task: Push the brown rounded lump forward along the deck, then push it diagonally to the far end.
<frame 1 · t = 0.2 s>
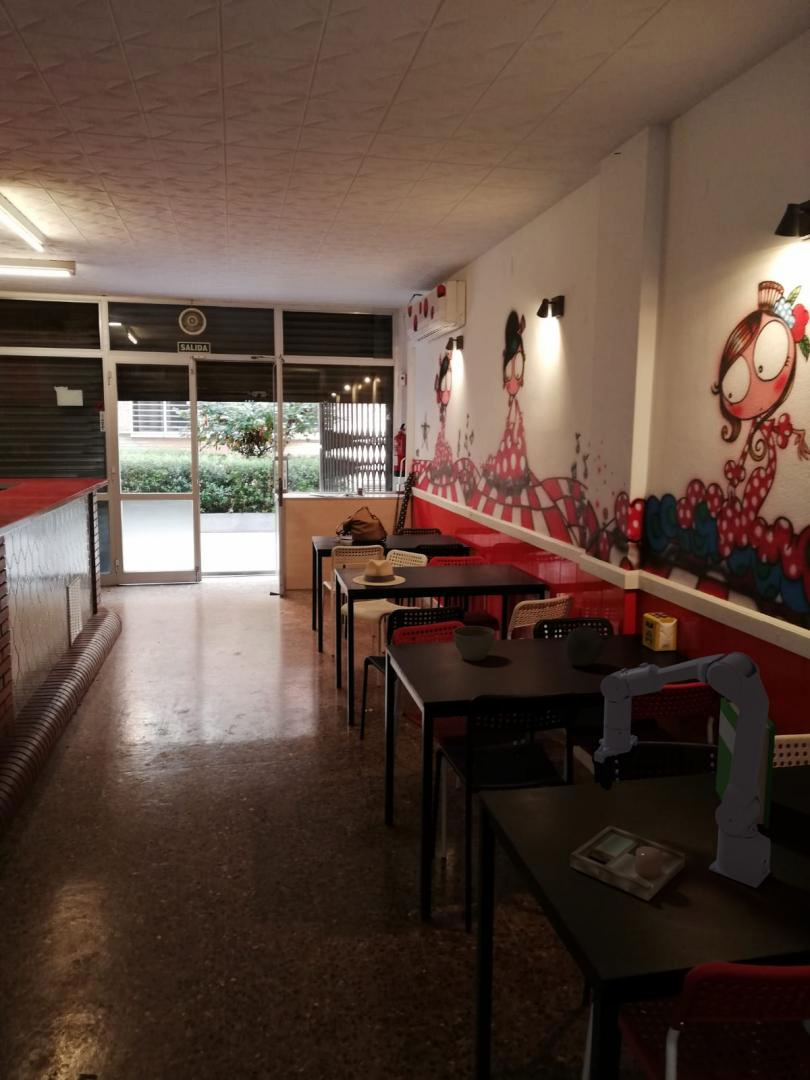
hand: (615, 783, 174), 10 cm above the table, tool pointing down, fingers open, 7 cm apart
cantaloupe: (583, 666, 294), on the table
hardback book: (740, 809, 183), on the table
deck: (627, 866, 158), on the table
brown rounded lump: (648, 872, 153), point 2 cm above the table, touching deck
planter bowl: (473, 658, 305), on the table
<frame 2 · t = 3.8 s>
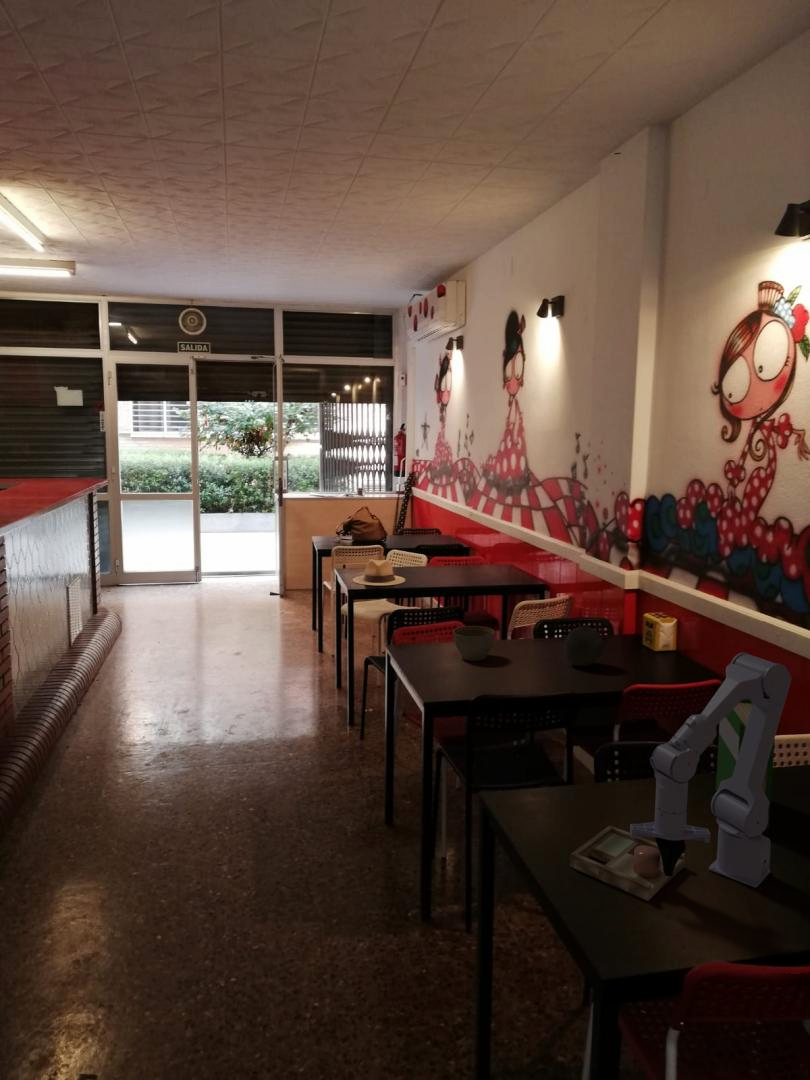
hand: (667, 873, 150), 3 cm above the table, tool pointing down, fingers closed
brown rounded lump: (646, 871, 153), point 2 cm above the table, touching gripper
everything else where it was.
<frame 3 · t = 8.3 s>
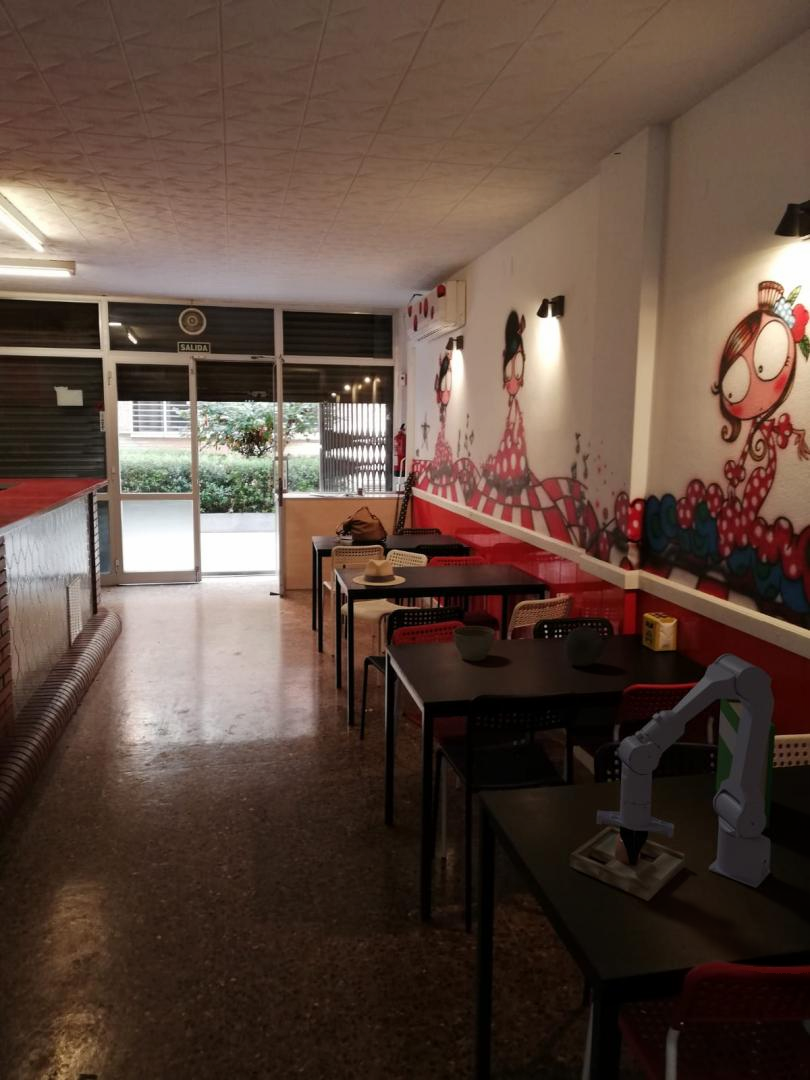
hand: (633, 862, 154), 3 cm above the table, tool pointing down, fingers closed
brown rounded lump: (627, 857, 158), point 2 cm above the table, touching gripper
everything else where it was.
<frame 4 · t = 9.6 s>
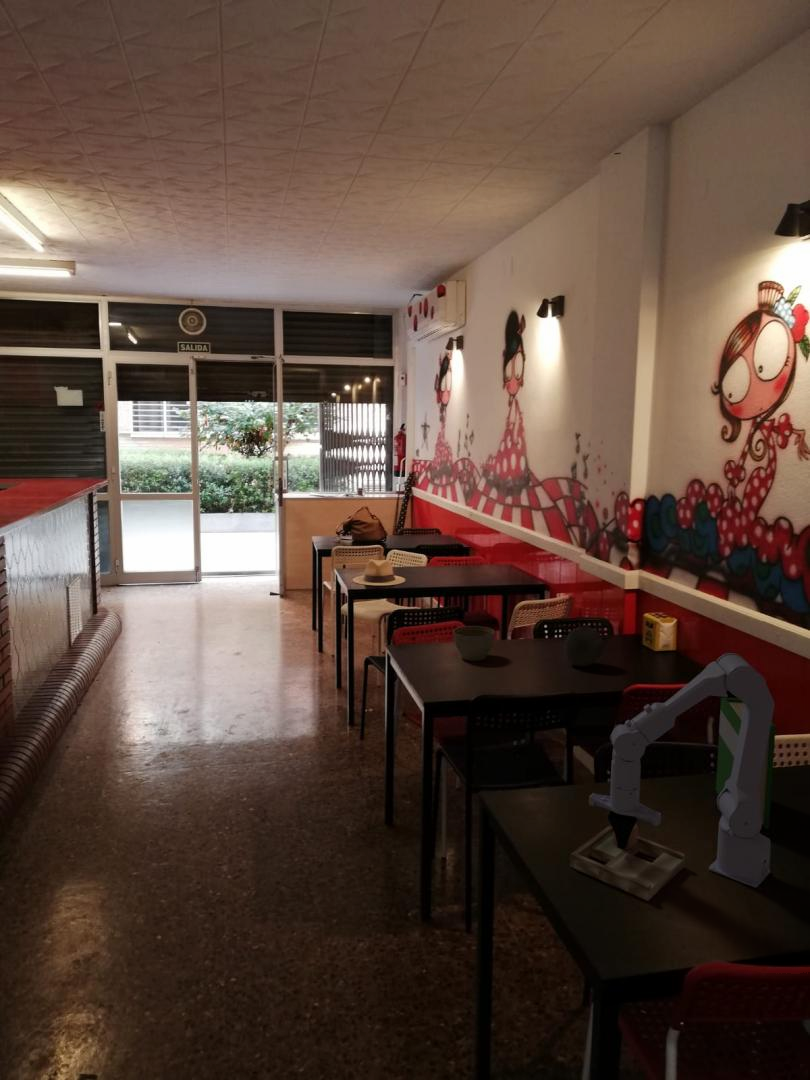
hand: (622, 846, 159), 4 cm above the table, tool pointing down, fingers closed
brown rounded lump: (625, 843, 163), point 2 cm above the table, touching deck, gripper
everything else where it was.
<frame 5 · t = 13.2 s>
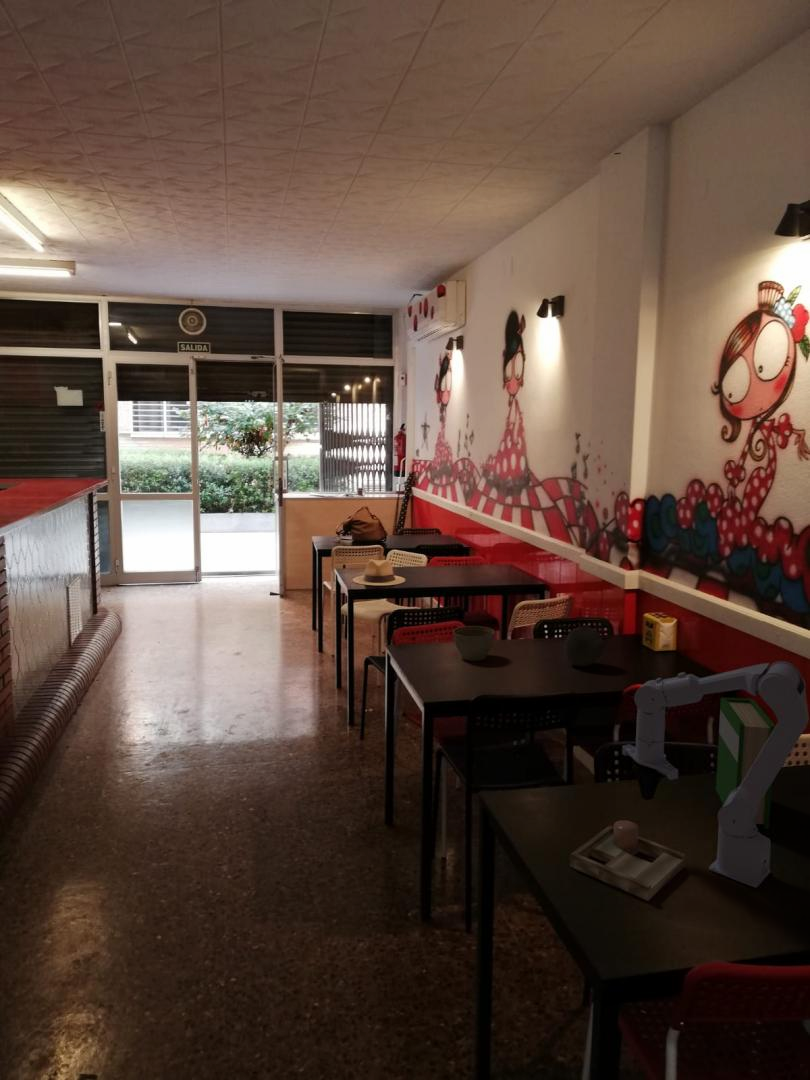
hand: (647, 798, 166), 10 cm above the table, tool pointing down, fingers closed
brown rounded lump: (625, 844, 163), point 2 cm above the table, touching deck
everything else where it was.
at the end: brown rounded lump inside the target area (2.0 cm from its centre), point 2.0 cm above the table; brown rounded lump tilted 0° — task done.
